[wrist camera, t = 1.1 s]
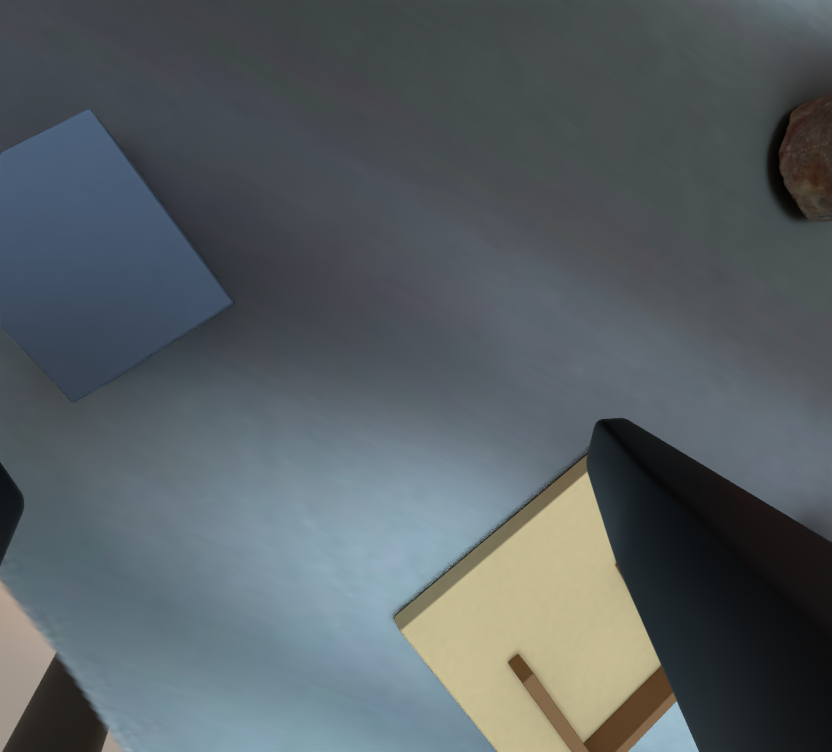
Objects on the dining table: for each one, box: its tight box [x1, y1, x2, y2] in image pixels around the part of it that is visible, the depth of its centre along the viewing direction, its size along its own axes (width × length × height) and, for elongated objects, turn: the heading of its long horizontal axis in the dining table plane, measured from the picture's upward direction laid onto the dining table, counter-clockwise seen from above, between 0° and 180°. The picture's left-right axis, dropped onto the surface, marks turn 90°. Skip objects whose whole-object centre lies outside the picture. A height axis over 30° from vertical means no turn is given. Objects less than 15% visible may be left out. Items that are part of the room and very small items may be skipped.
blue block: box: [0, 109, 235, 402], centre depth 17 cm, size 6×7×4 cm
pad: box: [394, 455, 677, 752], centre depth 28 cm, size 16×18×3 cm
